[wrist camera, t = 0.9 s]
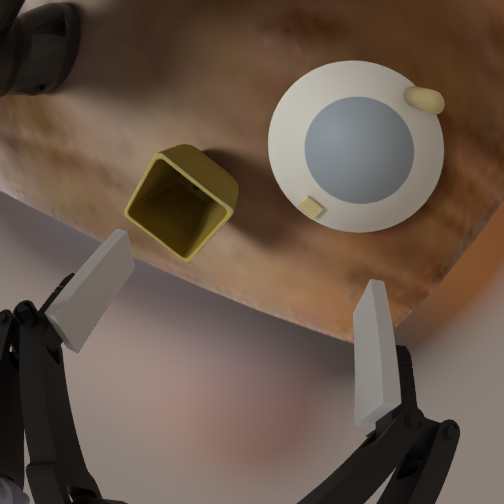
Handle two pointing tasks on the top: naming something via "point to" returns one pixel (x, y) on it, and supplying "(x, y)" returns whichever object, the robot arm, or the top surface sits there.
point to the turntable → (357, 145)
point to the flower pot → (183, 200)
